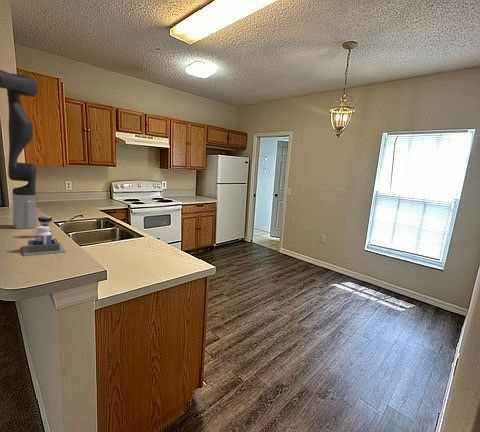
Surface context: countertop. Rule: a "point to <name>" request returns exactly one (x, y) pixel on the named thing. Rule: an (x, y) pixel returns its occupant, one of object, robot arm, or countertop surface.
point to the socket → (42, 248)
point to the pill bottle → (43, 236)
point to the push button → (45, 220)
